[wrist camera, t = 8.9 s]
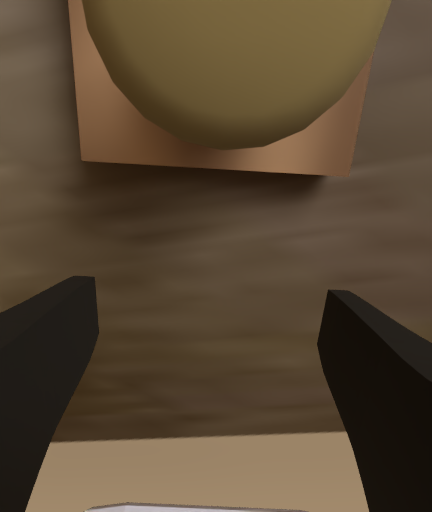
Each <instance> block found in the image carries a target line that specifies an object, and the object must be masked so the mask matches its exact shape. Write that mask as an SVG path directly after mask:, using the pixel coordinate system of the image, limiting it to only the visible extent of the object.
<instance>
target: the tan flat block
mask: <svg viewBox="0 0 432 512" xmlns="http://www.w3.org/2000/svg"><path fill="white" fill-rule="evenodd" d="M68 6H69V18H70V30H71V42H72V54H73V65H74V77H75V89H76V101H77V113H78V125H79V137H80V149H81V160H82V161H93V162H110V163H127V164H143V165H160V166H177V167H194V168H211V169H228V170H245V171H261V172H278V173H295V174H312V175H329V176H346V177H349V173H350V168H351V163H352V158H353V153H354V148H355V143H356V138H357V133H358V128H359V123H360V118H361V113H362V108H363V103H364V98H365V93H366V88H367V83H368V78H369V73H370V68H371V63H372V58H373V53H374V52H373V53H372V55H371V56H370V58H369V59H368V61H367V62H366V64H365V65H364V67H363V68H362V69H361V71H360V72H359V74H358V75H357V77H356V78H355V80H354V81H353V83H352V84H351V86H350V87H349V89H348V90H347V91H346V93H345V94H344V96H343V97H342V98H341V99H340V100H339V101H338V102H336V103H335V104H334V105H333V106H332V107H331V108H329V109H328V110H327V111H326V112H325V113H323V114H322V115H321V116H320V117H319V118H317V119H316V120H315V121H314V122H313V123H312V124H310V125H309V126H308V127H307V128H306V129H304V130H302V131H300V132H298V133H295V134H293V135H291V136H288V137H286V138H284V139H281V140H279V141H277V142H274V143H272V144H269V145H267V146H265V147H256V148H245V149H233V150H219V149H214V148H210V147H206V146H202V145H198V144H194V143H189V142H185V141H182V140H180V139H178V138H177V137H175V136H173V135H172V134H170V133H168V132H167V131H165V130H164V129H162V128H160V127H159V126H157V125H155V124H154V123H152V122H150V121H149V120H147V119H146V118H144V117H143V116H142V115H141V113H140V112H139V111H138V110H137V109H136V108H135V107H134V106H133V104H132V103H131V102H130V101H129V100H128V99H127V98H126V97H125V95H124V94H123V93H122V92H121V91H120V90H119V89H118V88H117V86H116V85H115V84H114V83H113V82H112V79H111V77H110V75H109V73H108V71H107V69H106V67H105V65H104V63H103V61H102V59H101V57H100V55H99V53H98V51H97V49H96V47H95V44H94V42H93V40H92V38H91V36H90V34H89V32H88V29H87V24H86V19H85V14H84V9H83V4H82V0H68Z"/></svg>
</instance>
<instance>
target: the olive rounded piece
mask: <svg viewBox="0 0 432 512" xmlns="http://www.w3.org/2000/svg"><path fill="white" fill-rule="evenodd" d="M391 1H392V0H82V4H83V9H84V14H85V19H86V24H87V29H88V32H89V34H90V36H91V38H92V40H93V42H94V44H95V47H96V49H97V51H98V53H99V55H100V57H101V59H102V61H103V63H104V65H105V67H106V69H107V71H108V73H109V75H110V77H111V79H112V82H113V83H114V84H115V85H116V86H117V88H118V89H119V90H120V91H121V92H122V93H123V94H124V95H125V97H126V98H127V99H128V100H129V101H130V102H131V103H132V104H133V106H134V107H135V108H136V109H137V110H138V111H139V112H140V113H141V115H142V116H143V117H144V118H146V119H147V120H149V121H150V122H152V123H154V124H155V125H157V126H159V127H160V128H162V129H164V130H165V131H167V132H168V133H170V134H172V135H173V136H175V137H177V138H178V139H180V140H182V141H185V142H189V143H194V144H198V145H202V146H206V147H210V148H214V149H219V150H233V149H245V148H256V147H265V146H267V145H269V144H272V143H274V142H277V141H279V140H281V139H284V138H286V137H288V136H291V135H293V134H295V133H298V132H300V131H302V130H304V129H306V128H307V127H308V126H309V125H310V124H312V123H313V122H314V121H315V120H316V119H317V118H319V117H320V116H321V115H322V114H323V113H325V112H326V111H327V110H328V109H329V108H331V107H332V106H333V105H334V104H335V103H336V102H338V101H339V100H340V99H341V98H342V97H343V96H344V94H345V93H346V91H347V90H348V89H349V87H350V86H351V84H352V83H353V81H354V80H355V78H356V77H357V75H358V74H359V72H360V71H361V69H362V68H363V67H364V65H365V64H366V62H367V61H368V59H369V58H370V56H371V55H372V53H373V52H374V49H375V46H376V43H377V40H378V38H379V35H380V32H381V29H382V26H383V23H384V21H385V18H386V15H387V12H388V9H389V6H390V4H391Z"/></svg>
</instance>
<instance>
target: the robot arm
mask: <svg viewBox="0 0 432 512" xmlns="http://www.w3.org/2000/svg"><path fill="white" fill-rule="evenodd" d="M98 334H99V327H98V314H97V302H96V289H95V277H88V276H73V277H70V278H68V279H66V280H64V281H62V282H60V283H58V284H56V285H54V286H52V287H50V288H49V289H47V290H45V291H43V292H41V293H39V294H37V295H36V296H34V297H32V298H30V299H28V300H26V301H24V302H22V303H20V304H18V305H16V306H14V307H12V308H10V309H8V310H6V311H4V312H2V313H0V512H25V510H26V507H27V504H28V501H29V499H30V496H31V493H32V490H33V487H34V484H35V482H36V479H37V476H38V473H39V470H40V468H41V465H42V462H43V460H44V457H45V455H46V452H47V449H48V447H49V444H50V441H51V439H52V436H53V434H54V432H55V430H56V427H57V425H58V423H59V421H60V419H61V417H62V415H63V413H64V411H65V409H66V407H67V405H68V403H69V401H70V399H71V397H72V395H73V393H74V391H75V389H76V387H77V385H78V383H79V381H80V379H81V377H82V375H83V373H84V371H85V369H86V367H87V365H88V363H89V361H90V358H91V356H92V353H93V350H94V347H95V344H96V341H97V337H98ZM317 346H318V350H319V355H320V360H321V364H322V368H323V372H324V375H325V377H326V380H327V383H328V385H329V388H330V391H331V393H332V396H333V398H334V401H335V403H336V406H337V409H338V411H339V414H340V416H341V419H342V421H343V424H344V426H345V429H346V432H347V434H348V437H349V440H350V442H351V445H352V448H353V451H354V455H355V458H356V462H357V466H358V469H359V473H360V477H361V480H362V484H363V488H364V492H365V496H366V500H367V504H368V508H369V512H432V343H430V342H429V341H427V340H425V339H424V338H422V337H420V336H419V335H417V334H415V333H413V332H412V331H410V330H409V329H407V328H405V327H404V326H402V325H401V324H399V323H398V322H396V321H394V320H393V319H391V318H390V317H388V316H387V315H385V314H384V313H382V312H381V311H379V310H378V309H376V308H375V307H373V306H372V305H371V304H369V303H368V302H366V301H365V300H363V299H361V298H360V297H358V296H357V295H355V294H353V293H351V292H350V291H345V290H328V293H327V298H326V303H325V308H324V313H323V317H322V322H321V327H320V332H319V337H318V342H317ZM84 512H306V511H302V510H286V509H263V508H240V507H239V508H238V507H219V506H195V505H174V504H150V503H129V502H127V503H120V504H113V505H105V506H97V507H92V508H90V509H88V510H86V511H84Z"/></svg>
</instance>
